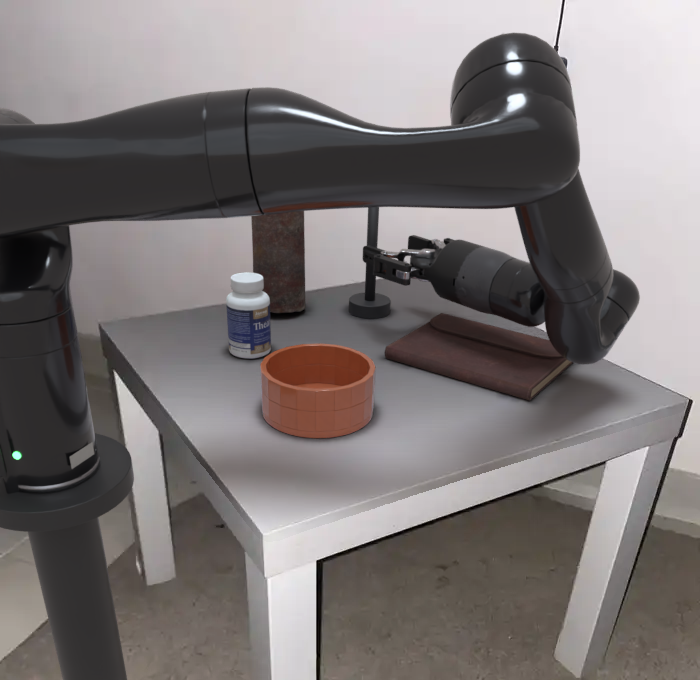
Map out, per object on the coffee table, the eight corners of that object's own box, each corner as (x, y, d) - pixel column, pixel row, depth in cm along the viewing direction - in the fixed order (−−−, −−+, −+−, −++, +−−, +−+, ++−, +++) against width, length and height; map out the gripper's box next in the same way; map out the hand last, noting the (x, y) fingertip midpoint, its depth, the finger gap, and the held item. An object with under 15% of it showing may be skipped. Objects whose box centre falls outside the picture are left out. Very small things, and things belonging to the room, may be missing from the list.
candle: (292, 324, 107) (290, 173, 97) (245, 316, 110) (238, 167, 99) (313, 306, 114) (313, 162, 103) (268, 299, 116) (264, 157, 105)
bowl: (288, 448, 78) (287, 399, 76) (246, 398, 88) (244, 353, 85) (392, 424, 83) (395, 378, 80) (342, 380, 92) (343, 337, 90)
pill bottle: (260, 362, 96) (258, 286, 91) (221, 356, 97) (216, 280, 92) (278, 346, 100) (276, 273, 95) (240, 340, 102) (236, 268, 97)
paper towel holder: (360, 321, 109) (365, 192, 100) (341, 307, 114) (344, 183, 104) (397, 315, 111) (405, 189, 102) (377, 302, 116) (383, 180, 107)
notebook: (528, 401, 89) (531, 386, 88) (384, 359, 98) (384, 344, 97) (576, 360, 99) (578, 345, 98) (441, 324, 109) (442, 311, 108)
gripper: (518, 238, 97) (425, 212, 108) (442, 258, 89) (349, 227, 99) (510, 295, 101) (421, 265, 111) (436, 319, 93) (347, 284, 103)
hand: (387, 247), depth 105 cm, fingers open, 8 cm apart
